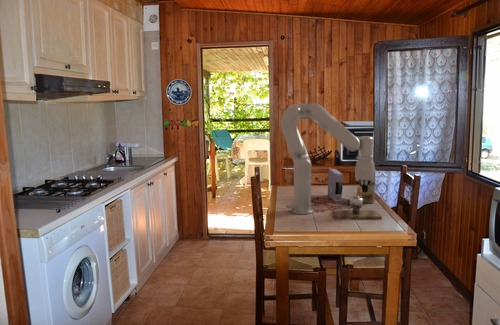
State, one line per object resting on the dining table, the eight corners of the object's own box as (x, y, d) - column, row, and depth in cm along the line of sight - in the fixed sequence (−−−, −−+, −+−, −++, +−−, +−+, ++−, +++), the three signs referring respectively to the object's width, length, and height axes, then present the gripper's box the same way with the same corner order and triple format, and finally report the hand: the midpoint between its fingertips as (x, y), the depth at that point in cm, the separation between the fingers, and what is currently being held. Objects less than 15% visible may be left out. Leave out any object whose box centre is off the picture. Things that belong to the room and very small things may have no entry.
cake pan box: (343, 202, 247) (343, 173, 245) (334, 202, 247) (335, 174, 245) (334, 195, 266) (335, 168, 264) (327, 195, 266) (327, 168, 264)
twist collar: (361, 206, 213) (361, 192, 212) (349, 205, 215) (349, 191, 214) (365, 200, 226) (365, 186, 225) (353, 199, 229) (354, 186, 228)
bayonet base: (334, 219, 213) (335, 208, 212) (331, 212, 225) (332, 202, 224) (381, 219, 211) (381, 208, 210) (376, 213, 223) (376, 202, 222)
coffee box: (358, 202, 246) (359, 176, 243) (358, 200, 252) (359, 174, 249) (374, 203, 243) (375, 177, 241) (374, 200, 249) (375, 175, 247)
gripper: (349, 158, 223) (349, 191, 225) (376, 160, 213) (375, 195, 216) (355, 157, 228) (355, 189, 231) (381, 159, 219) (380, 192, 222)
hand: (365, 191), depth 224 cm, fingers closed
